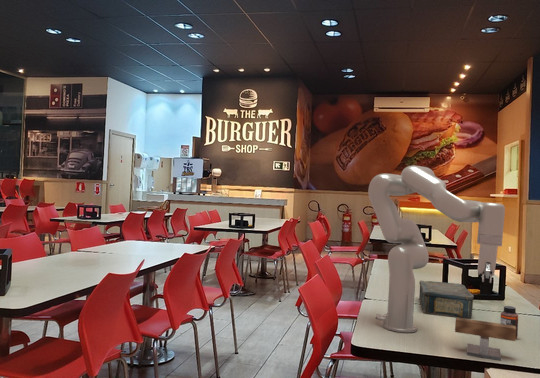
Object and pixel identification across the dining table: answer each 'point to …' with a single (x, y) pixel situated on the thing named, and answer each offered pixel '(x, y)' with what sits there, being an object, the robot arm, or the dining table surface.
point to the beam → (485, 329)
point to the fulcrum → (483, 350)
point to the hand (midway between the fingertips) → (485, 291)
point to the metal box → (445, 299)
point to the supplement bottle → (510, 317)
